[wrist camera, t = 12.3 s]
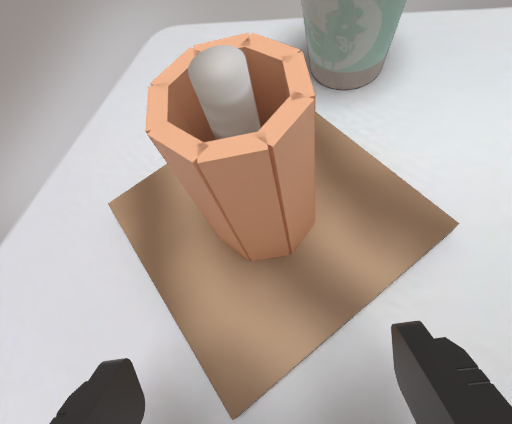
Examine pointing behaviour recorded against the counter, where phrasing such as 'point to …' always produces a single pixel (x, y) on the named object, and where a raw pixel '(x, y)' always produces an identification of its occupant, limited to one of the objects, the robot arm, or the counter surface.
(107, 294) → the counter surface
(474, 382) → the robot arm
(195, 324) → the post
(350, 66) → the coffee cup
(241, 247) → the collar
